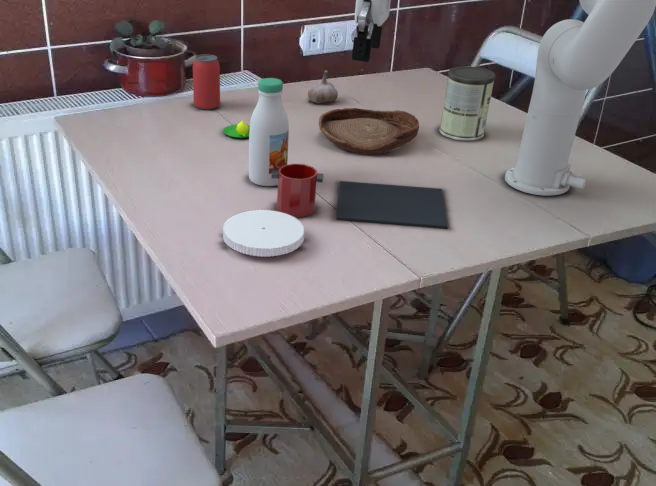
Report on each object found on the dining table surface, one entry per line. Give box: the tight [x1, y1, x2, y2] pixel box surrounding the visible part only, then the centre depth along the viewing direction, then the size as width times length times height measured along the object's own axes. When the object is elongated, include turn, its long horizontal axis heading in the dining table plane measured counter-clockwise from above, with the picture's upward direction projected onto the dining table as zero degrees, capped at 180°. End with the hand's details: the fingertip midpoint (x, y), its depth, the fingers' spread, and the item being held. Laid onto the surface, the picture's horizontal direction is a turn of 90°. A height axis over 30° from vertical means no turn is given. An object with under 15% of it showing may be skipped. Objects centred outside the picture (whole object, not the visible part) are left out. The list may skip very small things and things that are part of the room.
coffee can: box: [438, 65, 497, 142], centre depth 171 cm, size 10×10×14 cm
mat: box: [336, 180, 448, 229], centre depth 142 cm, size 20×16×1 cm
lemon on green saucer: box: [222, 120, 250, 139], centre depth 171 cm, size 8×8×3 cm
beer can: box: [192, 53, 221, 111], centre depth 183 cm, size 7×7×12 cm
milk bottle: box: [248, 77, 290, 187], centre depth 145 cm, size 8×8×20 cm
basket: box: [318, 107, 420, 156], centre depth 169 cm, size 22×20×5 cm
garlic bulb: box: [307, 69, 339, 104], centre depth 189 cm, size 8×7×8 cm
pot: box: [271, 163, 325, 218], centre depth 138 cm, size 9×7×8 cm
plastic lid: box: [222, 209, 305, 258], centre depth 129 cm, size 14×14×2 cm
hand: (365, 53), depth 139 cm, fingers open, 9 cm apart
